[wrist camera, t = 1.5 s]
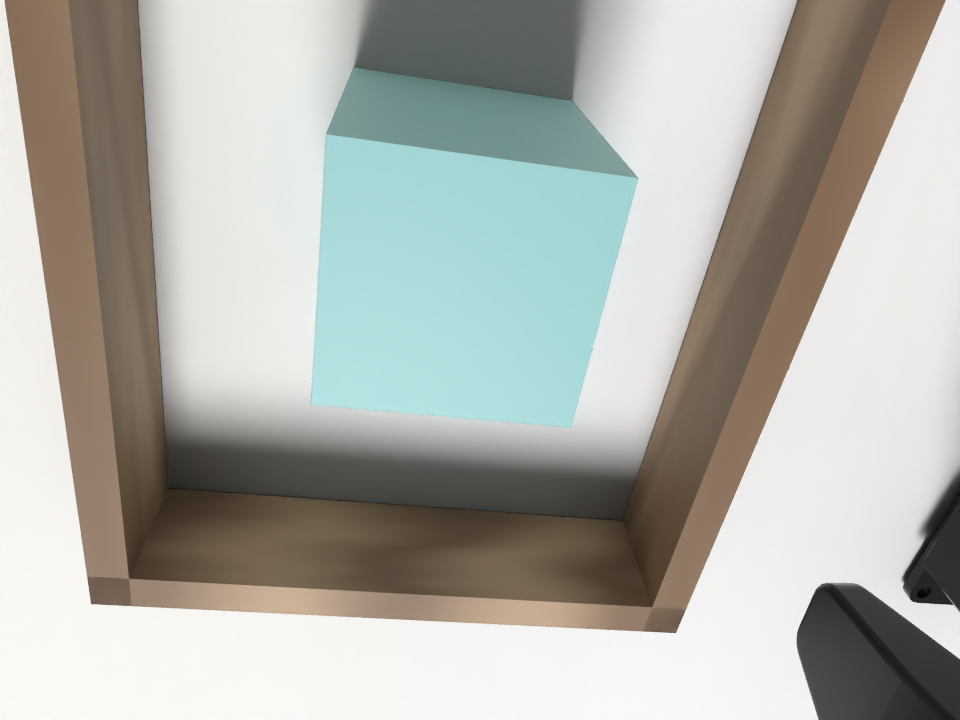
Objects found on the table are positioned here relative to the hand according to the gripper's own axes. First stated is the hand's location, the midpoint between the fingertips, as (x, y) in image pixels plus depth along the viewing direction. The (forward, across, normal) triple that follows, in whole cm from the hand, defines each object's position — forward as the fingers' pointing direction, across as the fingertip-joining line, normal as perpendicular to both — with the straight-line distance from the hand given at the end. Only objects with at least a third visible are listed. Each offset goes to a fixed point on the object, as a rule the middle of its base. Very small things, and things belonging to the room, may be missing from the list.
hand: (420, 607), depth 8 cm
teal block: (+12, -1, -1) cm, 12 cm away
